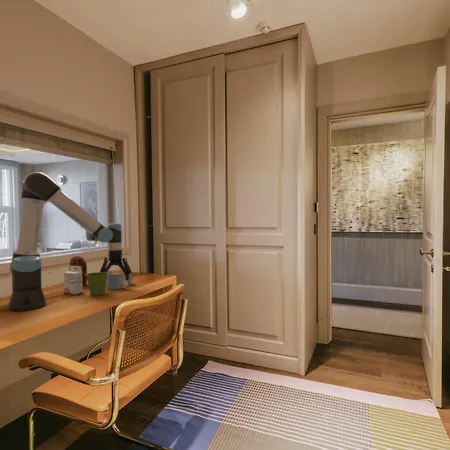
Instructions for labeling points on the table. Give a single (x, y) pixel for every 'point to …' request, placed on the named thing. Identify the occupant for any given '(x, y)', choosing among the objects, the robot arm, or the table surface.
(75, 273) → the ink cartridge box
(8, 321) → the table surface
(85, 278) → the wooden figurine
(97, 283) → the plant pot
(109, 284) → the grey upright block
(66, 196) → the robot arm
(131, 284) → the post
